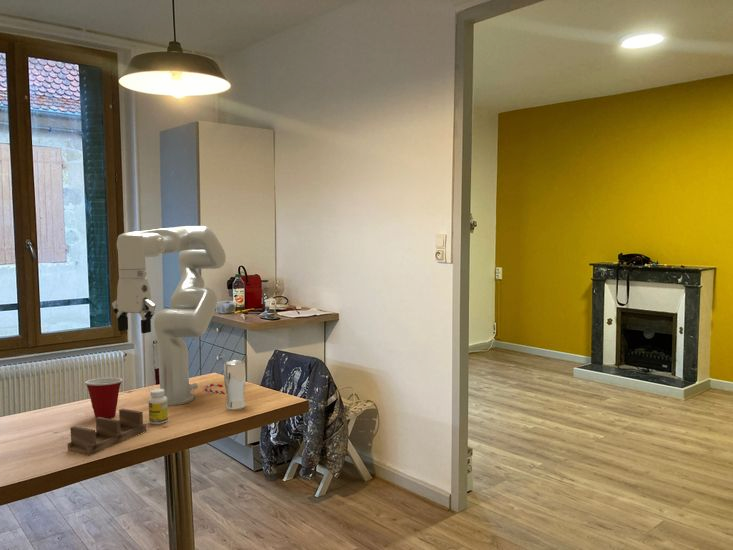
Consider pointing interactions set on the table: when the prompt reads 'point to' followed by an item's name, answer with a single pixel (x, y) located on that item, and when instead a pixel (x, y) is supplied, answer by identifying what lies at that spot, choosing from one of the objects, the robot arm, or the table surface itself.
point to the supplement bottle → (158, 407)
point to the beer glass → (235, 383)
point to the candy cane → (214, 390)
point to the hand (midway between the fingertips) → (134, 331)
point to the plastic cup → (104, 396)
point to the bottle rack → (106, 432)
